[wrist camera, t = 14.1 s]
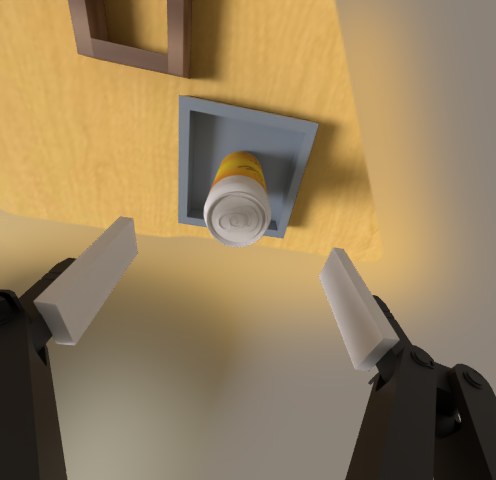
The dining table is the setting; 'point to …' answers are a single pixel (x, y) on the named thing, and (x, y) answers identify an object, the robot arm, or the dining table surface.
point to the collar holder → (98, 46)
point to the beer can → (238, 201)
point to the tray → (240, 139)
